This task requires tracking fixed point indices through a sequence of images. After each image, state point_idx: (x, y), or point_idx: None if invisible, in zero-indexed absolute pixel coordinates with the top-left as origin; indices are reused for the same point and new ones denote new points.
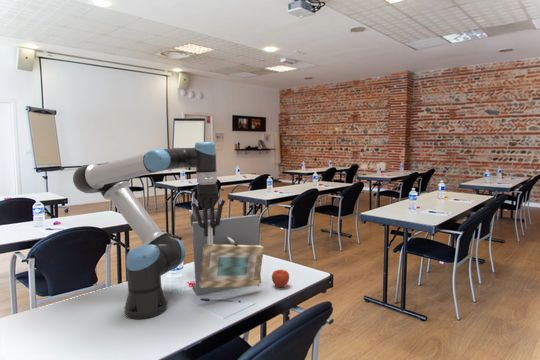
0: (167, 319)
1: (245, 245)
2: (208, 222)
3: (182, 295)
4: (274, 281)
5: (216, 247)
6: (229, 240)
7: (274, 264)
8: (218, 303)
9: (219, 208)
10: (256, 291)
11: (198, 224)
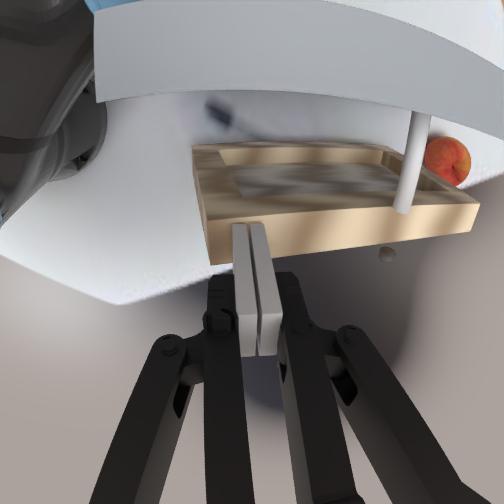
0: (108, 193)
1: (433, 213)
2: (350, 97)
3: None
4: (427, 163)
5: (278, 252)
6: (404, 165)
7: (486, 20)
8: None
9: (390, 494)
10: (374, 140)
11: (151, 354)
